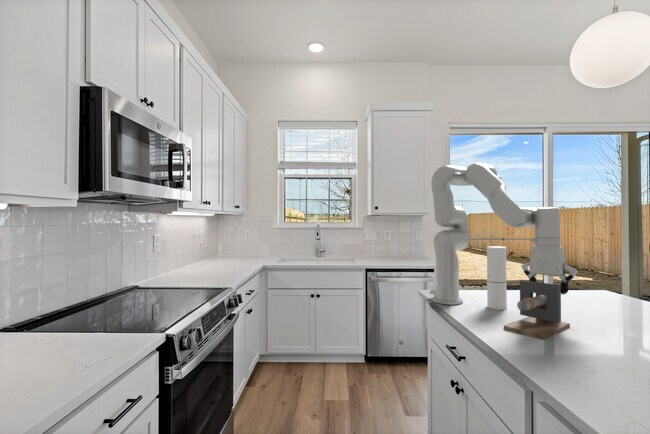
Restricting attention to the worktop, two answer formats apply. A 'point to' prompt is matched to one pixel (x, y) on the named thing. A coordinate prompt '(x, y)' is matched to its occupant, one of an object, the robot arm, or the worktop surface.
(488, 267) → the cylindrical container
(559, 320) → the dark grey square plate
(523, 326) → the pipe mount
